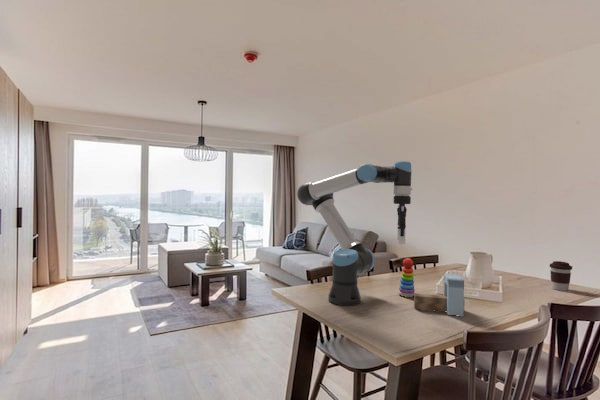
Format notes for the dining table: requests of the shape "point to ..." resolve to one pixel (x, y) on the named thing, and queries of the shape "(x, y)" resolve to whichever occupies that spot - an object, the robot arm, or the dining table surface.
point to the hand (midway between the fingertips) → (401, 241)
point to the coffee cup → (560, 275)
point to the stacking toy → (407, 279)
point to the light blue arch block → (454, 294)
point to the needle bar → (430, 302)
